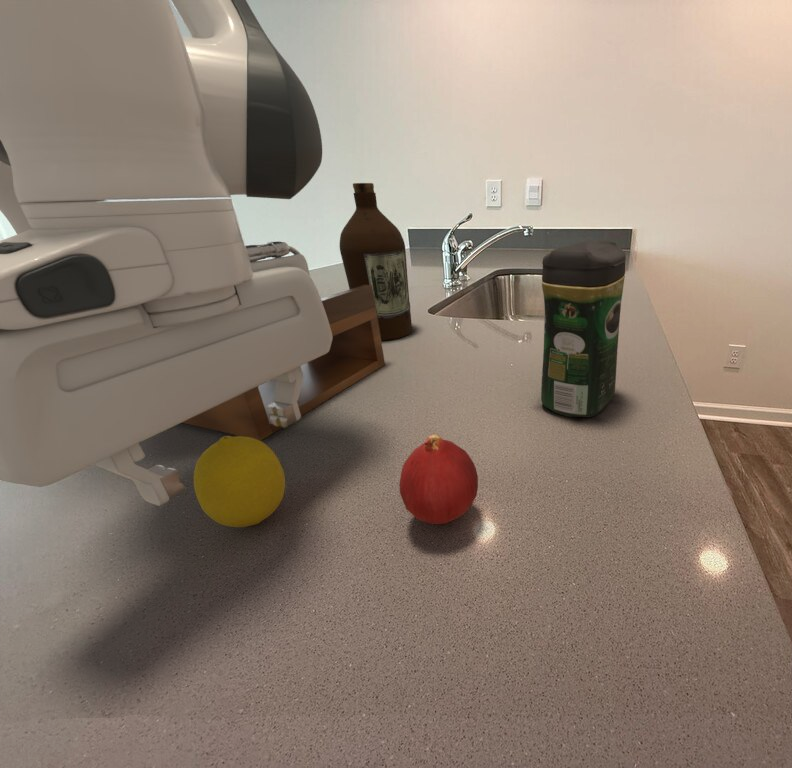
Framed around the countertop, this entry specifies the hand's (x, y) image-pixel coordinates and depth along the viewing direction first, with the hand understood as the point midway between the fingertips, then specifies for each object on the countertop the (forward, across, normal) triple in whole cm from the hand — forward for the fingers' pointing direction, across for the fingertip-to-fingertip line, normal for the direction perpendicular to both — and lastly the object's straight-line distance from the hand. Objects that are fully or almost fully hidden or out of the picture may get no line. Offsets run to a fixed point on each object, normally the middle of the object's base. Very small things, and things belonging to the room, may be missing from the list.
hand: (234, 454), depth 29 cm
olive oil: (+6, -44, -19) cm, 48 cm away
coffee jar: (+7, -28, +20) cm, 35 cm away
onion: (+7, -5, +14) cm, 16 cm away
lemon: (+7, 0, 0) cm, 7 cm away
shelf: (+6, -20, -17) cm, 27 cm away
